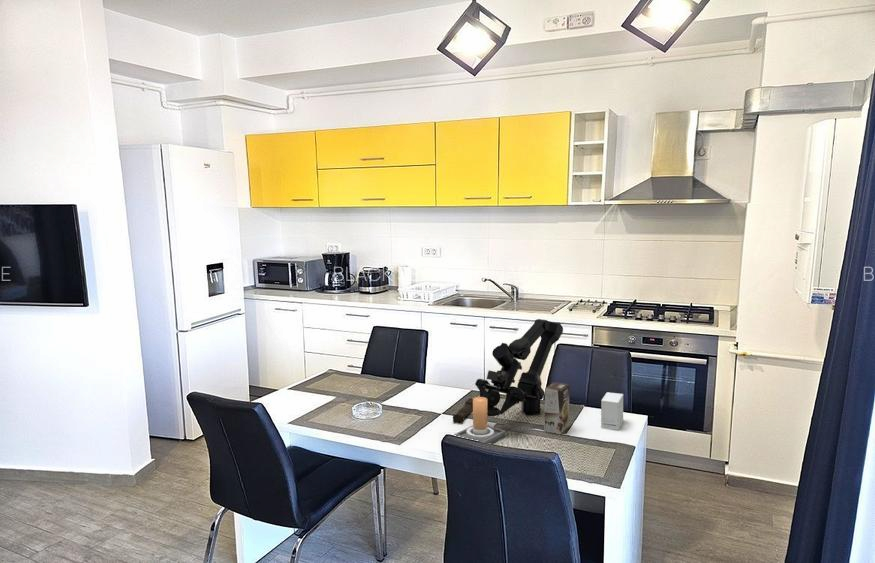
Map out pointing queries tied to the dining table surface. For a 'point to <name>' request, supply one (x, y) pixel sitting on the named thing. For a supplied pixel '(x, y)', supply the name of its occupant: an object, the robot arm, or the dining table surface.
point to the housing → (491, 436)
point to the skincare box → (612, 411)
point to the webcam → (493, 403)
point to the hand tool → (463, 412)
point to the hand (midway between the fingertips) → (490, 410)
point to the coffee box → (556, 408)
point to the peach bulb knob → (480, 416)
